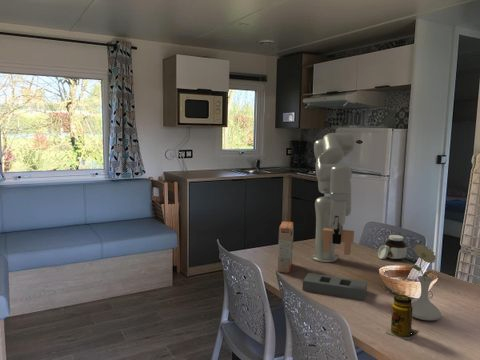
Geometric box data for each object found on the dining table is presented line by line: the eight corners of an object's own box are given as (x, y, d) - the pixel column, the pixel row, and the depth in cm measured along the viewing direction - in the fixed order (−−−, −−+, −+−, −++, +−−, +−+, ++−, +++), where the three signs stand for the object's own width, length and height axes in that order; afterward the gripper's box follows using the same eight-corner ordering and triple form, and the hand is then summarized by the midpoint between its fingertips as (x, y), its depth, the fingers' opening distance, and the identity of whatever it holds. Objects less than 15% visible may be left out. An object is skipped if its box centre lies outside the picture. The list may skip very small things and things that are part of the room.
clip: (323, 249, 170) (324, 227, 169) (353, 252, 165) (354, 230, 164) (321, 251, 166) (322, 229, 165) (351, 255, 162) (352, 233, 161)
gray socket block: (308, 281, 176) (308, 272, 175) (366, 290, 167) (367, 281, 166) (302, 290, 167) (302, 280, 166) (364, 300, 157) (364, 290, 157)
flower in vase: (448, 322, 140) (453, 251, 137) (417, 324, 138) (422, 252, 135) (425, 306, 153) (429, 240, 150) (396, 308, 151) (400, 241, 148)
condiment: (386, 333, 132) (388, 297, 131) (395, 324, 138) (397, 289, 137) (409, 341, 127) (411, 304, 126) (418, 331, 134) (420, 295, 132)
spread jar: (408, 260, 207) (409, 237, 206) (394, 264, 201) (395, 240, 199) (387, 254, 217) (389, 232, 216) (374, 257, 211) (375, 235, 209)
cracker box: (290, 273, 186) (291, 228, 183) (277, 272, 187) (278, 227, 184) (292, 263, 199) (294, 221, 197) (280, 262, 200) (281, 220, 198)
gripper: (333, 193, 172) (331, 236, 174) (325, 199, 157) (324, 246, 159) (351, 195, 170) (349, 238, 172) (346, 200, 154) (344, 248, 156)
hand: (337, 241), depth 165 cm, fingers closed on clip, 4 cm apart
